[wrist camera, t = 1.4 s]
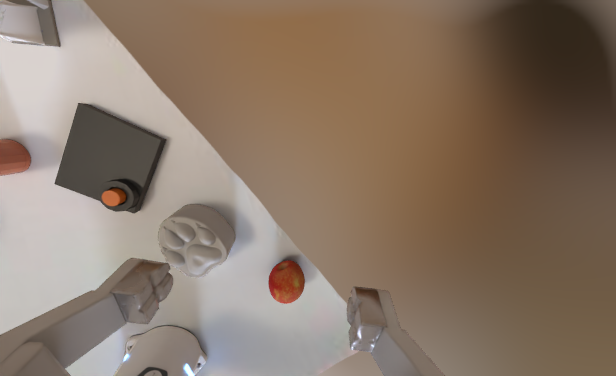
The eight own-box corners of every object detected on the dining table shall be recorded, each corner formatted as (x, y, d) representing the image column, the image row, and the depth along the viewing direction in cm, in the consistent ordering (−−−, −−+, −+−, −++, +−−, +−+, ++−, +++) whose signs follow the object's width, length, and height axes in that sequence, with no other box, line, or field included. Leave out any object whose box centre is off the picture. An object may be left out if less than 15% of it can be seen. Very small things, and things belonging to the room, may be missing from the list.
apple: (269, 285, 53) (267, 311, 45) (269, 254, 51) (267, 276, 43) (302, 284, 54) (305, 309, 46) (303, 253, 52) (307, 274, 44)
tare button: (123, 205, 41) (117, 209, 40) (106, 199, 41) (99, 202, 39) (128, 192, 41) (122, 194, 39) (111, 185, 40) (104, 187, 39)
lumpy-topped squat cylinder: (205, 263, 49) (189, 290, 41) (162, 221, 46) (136, 240, 38) (241, 237, 49) (233, 259, 41) (201, 193, 46) (183, 206, 37)
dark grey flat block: (139, 210, 45) (128, 216, 42) (64, 181, 42) (45, 185, 39) (166, 139, 42) (156, 140, 39) (87, 104, 40) (69, 101, 36)
